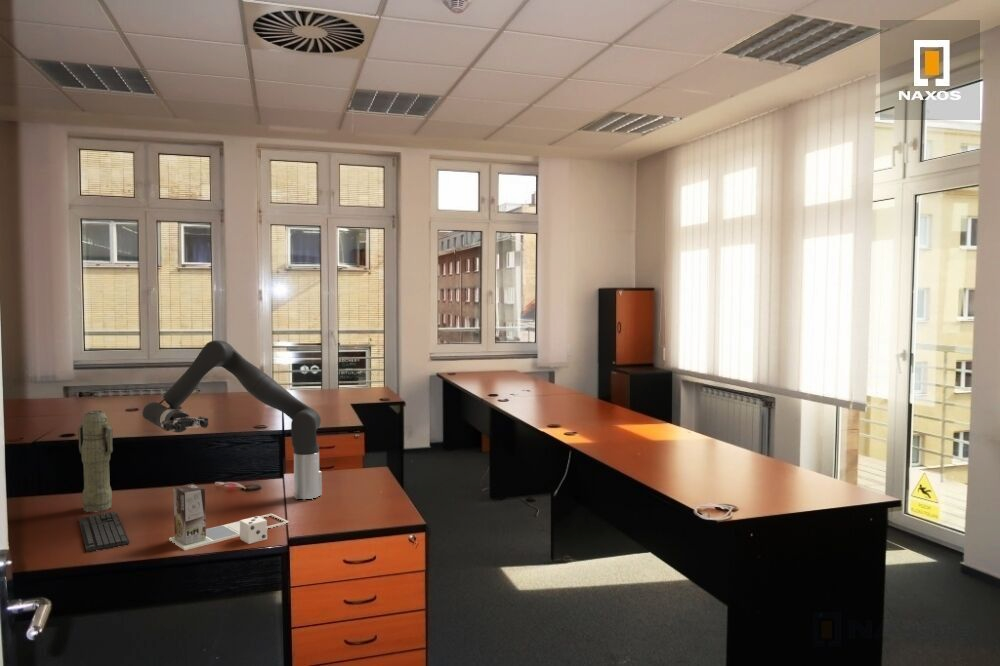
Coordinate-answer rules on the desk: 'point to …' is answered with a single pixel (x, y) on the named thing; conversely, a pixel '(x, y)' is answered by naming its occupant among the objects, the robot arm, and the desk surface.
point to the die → (253, 529)
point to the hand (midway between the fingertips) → (193, 426)
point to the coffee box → (189, 513)
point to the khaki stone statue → (96, 460)
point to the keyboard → (103, 531)
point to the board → (221, 533)
